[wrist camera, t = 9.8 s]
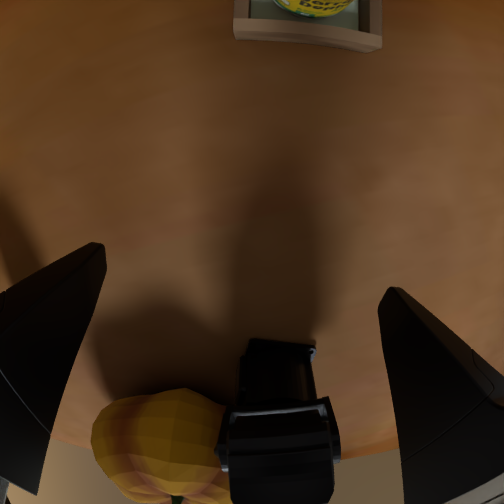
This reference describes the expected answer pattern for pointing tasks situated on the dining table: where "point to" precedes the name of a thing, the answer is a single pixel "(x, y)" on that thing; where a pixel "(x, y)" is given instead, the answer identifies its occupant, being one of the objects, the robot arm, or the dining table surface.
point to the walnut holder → (311, 25)
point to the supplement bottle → (313, 7)
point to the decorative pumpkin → (163, 448)
